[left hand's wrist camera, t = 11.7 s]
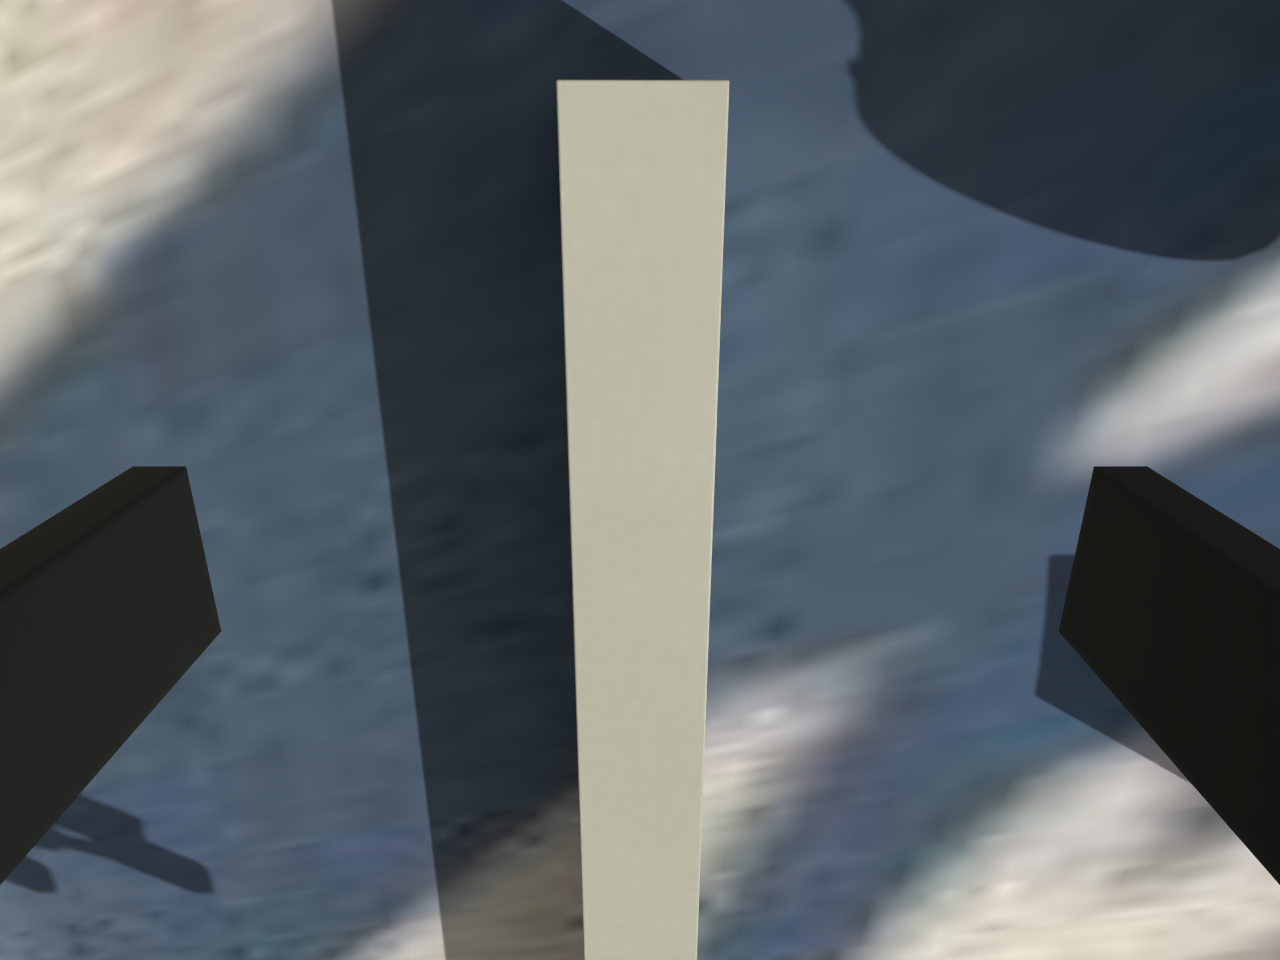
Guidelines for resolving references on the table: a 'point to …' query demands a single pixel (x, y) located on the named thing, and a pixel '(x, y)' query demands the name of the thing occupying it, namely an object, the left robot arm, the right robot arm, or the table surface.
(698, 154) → the bar
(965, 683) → the table surface
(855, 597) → the table surface
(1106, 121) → the table surface
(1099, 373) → the table surface
